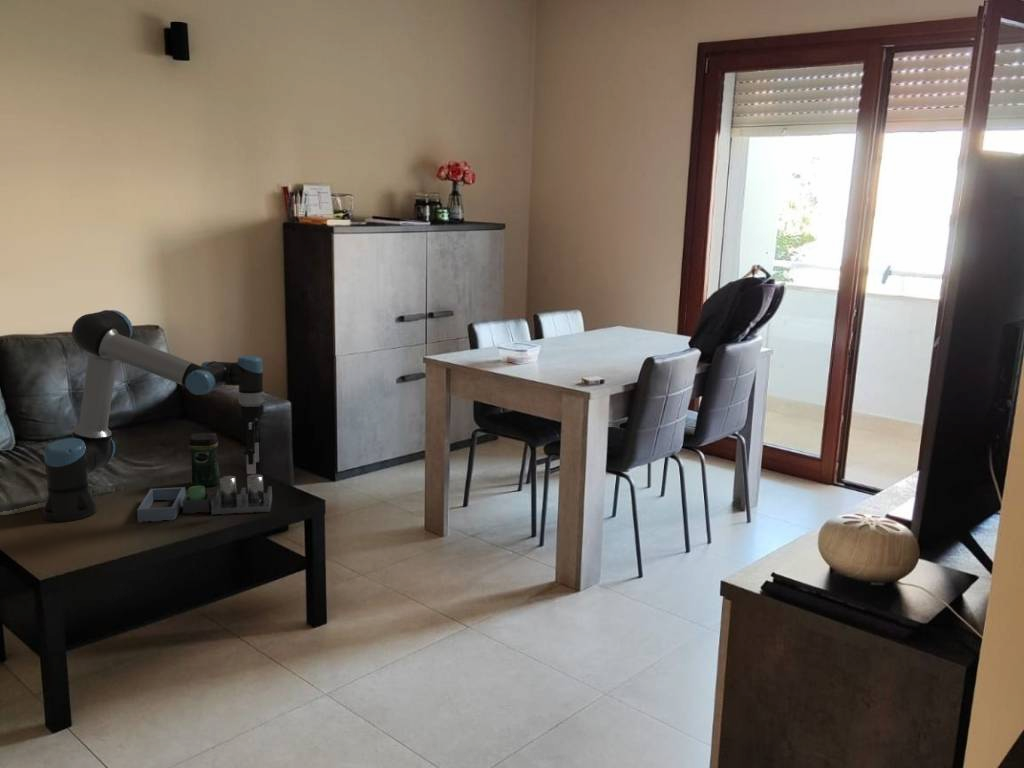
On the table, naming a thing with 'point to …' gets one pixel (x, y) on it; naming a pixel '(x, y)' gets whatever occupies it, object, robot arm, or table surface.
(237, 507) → the pallet
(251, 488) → the billet
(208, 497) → the button housing
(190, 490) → the button
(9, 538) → the table surface
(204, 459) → the coffee jar
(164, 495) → the tote
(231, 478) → the seated billet
